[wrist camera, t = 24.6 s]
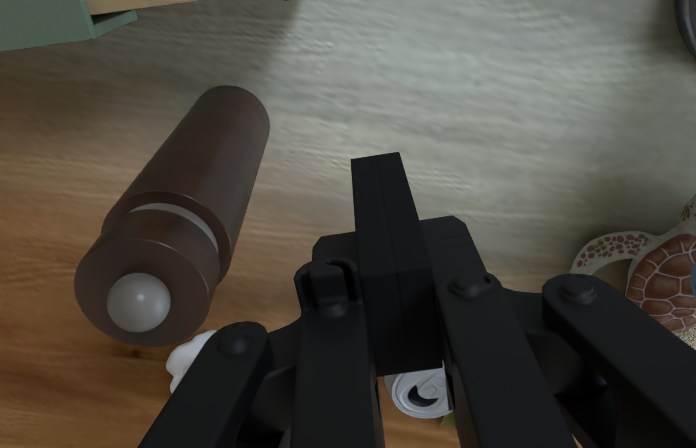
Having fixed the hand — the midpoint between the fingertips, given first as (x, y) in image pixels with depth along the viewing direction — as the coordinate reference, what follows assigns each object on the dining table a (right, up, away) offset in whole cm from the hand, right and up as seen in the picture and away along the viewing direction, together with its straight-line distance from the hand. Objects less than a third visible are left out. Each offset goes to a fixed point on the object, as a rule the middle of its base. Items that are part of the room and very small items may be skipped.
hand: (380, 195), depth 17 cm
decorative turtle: (+27, -5, +33) cm, 43 cm away
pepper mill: (-10, +7, +25) cm, 28 cm away
